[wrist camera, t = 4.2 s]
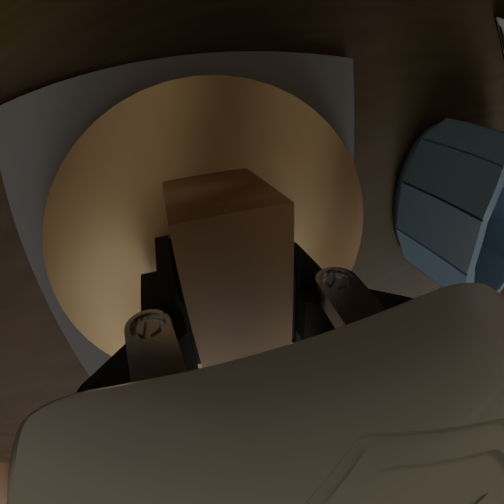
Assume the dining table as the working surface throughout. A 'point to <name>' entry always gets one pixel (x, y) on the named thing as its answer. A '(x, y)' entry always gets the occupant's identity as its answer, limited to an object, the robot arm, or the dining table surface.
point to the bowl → (453, 204)
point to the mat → (113, 92)
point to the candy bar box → (501, 29)
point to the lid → (201, 211)
